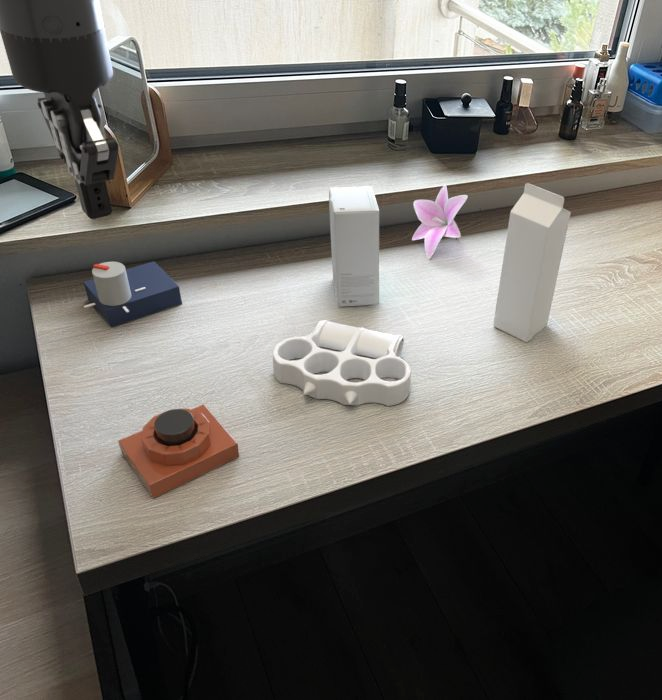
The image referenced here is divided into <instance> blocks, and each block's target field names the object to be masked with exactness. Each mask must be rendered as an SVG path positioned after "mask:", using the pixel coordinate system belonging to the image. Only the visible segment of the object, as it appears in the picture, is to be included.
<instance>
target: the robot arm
mask: <svg viewBox="0 0 662 700" xmlns="http://www.w3.org/2000/svg"><path fill="white" fill-rule="evenodd" d="M0 36H1V39H2V43H3V46H4V50H5V55H6V58H7V60H8V64H9V67H10V68H9V69H10V71H11V75H12V78H13V79H14V81H15V82H16V83H17V84H18V85H19V86H20V87H23V88H25V89H27V90H29V91H33V92H37V93H43V94H44V95H43V96H44V97H38V98H37V107H38V109H40V112H41V114H42V117H43V118H44V121H45V124H46V126H47V128H48V130H49V133H50V135H51V137H52V140H53V142H54V145H55V147H56V150H57V152H58V156H59V159H60V160H61V161H62V163H63V164H66V165H67V171H68V173H69V174H70V175H71V177H72V178H73V179H74V182H75V186H76V191H77V194H78V199H79V202H80V206H81V210H82V211H83V213H84V214H85V215H86V216H87V217H88V218H89V219H90V220H96V219H100V218H105V217H108V216H111V215H112V212H113V208H112V203H111V199H110V195H109V191H108V186H107V181H111V180H112V181H113V180H114V178H115V174H116V169H117V161H118V155H119V144H118V141H117V140H116V139H115V137H114V136H111V137H107V135H106V129H105V126H106V124H107V119H106V115H105V110H104V108H103V105H102V103H98V102H97V98H96V97H95V92H96V91H97V90H98V89H100V87H104V86H105V85H107V84H108V83H109V82H110V81H111V80H112V79H113V77H114V70H113V69H114V68H113V65H112V58H111V54H110V49H109V43H108V39H107V34H106V29H105V25H104V19H103V14H102V9H101V5H100V0H0Z"/></svg>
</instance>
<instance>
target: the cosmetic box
mask: <svg viewBox="0 0 662 700" xmlns="http://www.w3.org/2000/svg"><path fill="white" fill-rule="evenodd" d="M328 206H329V226H330V228H329V229H330V247H331V249H330V251H331V267H332V283H333V289H334V295H335V300H336V304H337V307H339V308H340V307H342V308H343V307H359V306H360V307H361V306H375V305H379V304H380V209H379V205H378V202H377V198H376V195H375V191H374V189H373V186H371V185H369V186H347V187H342V186H341V187H329V188H328Z"/></svg>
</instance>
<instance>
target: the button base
mask: <svg viewBox="0 0 662 700" xmlns="http://www.w3.org/2000/svg"><path fill="white" fill-rule="evenodd" d="M181 409H182V410H186V411H188V412H190V413H191V414H192V415H193V418H194V423H195V428H196V432H195V435H194V437H193V438H192V439H191V440H190V441H188V442H186V443H184V444H181V445H177V446H166V445H163V444H162V443H160V442H159V441H158V439H157V435H156V431H155V427H154V423H155V420H156V419H157V417H158V416H159V415H161V414H162V413H164V412H165V411H163V412H161V413H159V414H157V415H154V416H153V417H152V418H151V419H150V420H149V421H148V422H147V423H146V424H145V425H144V426H143V427H142V430H140V431H138V432H135V433H133V434H130V435H129V436H126V437H124V438H121V439H119V440H118V441H117V443H118V446H119V450H120V453H121V455H122V457H123V459H124V460H125V461H126V463H127V464H128V465H129V467H130V468H131V470H132V471H133V472H134V474H135V476H136V477H137V478H138V480H139V481H140V483H141V484H142V486H143V487H144V488H145V490H146V491H147V492H148V494H149V495H150V496H151V498H152V499H155V498H158V497H160V496H162V495H164V494H166V493H168V492H170V491H172V490H174V489H176V488H179V487H180V486H182V485H184V484H187V483H189V482H190V481H193V480H194V479H196V478H198V477H201V476H203V475H205V474H207V473H209V472H211V471H213V470H215V469H217V468H219V467H221V466H223V465H225V464H227V463H230V462H232V461H234V460H236V459H238V458H239V457H240V451H239V444H238V442H237V440H236V439H234V438H233V436H232V435H231V434H230V432H229V431H227V429H226V428H225V427H224V426H223V424H221V422H220V421H219V419H217V418H216V416H214V414H213V413H212V412H211V411H210V410H209V409H208V407H207V406H206V405H205V404H201V405H198V406H196V407H194V408H191V409H190V408H181ZM169 410H170V409H168V410H167V411H169Z"/></svg>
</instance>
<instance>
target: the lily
mask: <svg viewBox="0 0 662 700" xmlns="http://www.w3.org/2000/svg"><path fill="white" fill-rule="evenodd" d="M468 197H469V195H467V194H460V195H455V196H452V197H450V198H449V193H448V186H447V184H446V183H444V184H443V185H442V186H441V188H440V190H439V192H438V194H437V196H436V198H435V201H433V200H430V199H415V200H414V201H413V204H412V205H413V209H414V212H415V214H416V216H417V219H418V220H419V222H421V223H420V225H419V226H418V227H417V229H416V230H415V232H414V233H413V235H412V237H411V241H417V240H422V239H424V251H425V255H426V257H427V259H428V260H430V259H431V258H432V257H433V255H434V253H435V251H436V250H437V247H438V245H439V244H440V241H442V238H443V237H446V238H453V239H454V238H455V239H456V240H457V239H460V238H462V234H461V231H460V229H459V226H458V224H457V222H456V221H455V218H456V215H458V212H459V211H460V209H461V208H462V207H463V205H464V204H465V203H466V201H467V200H468Z"/></svg>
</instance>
